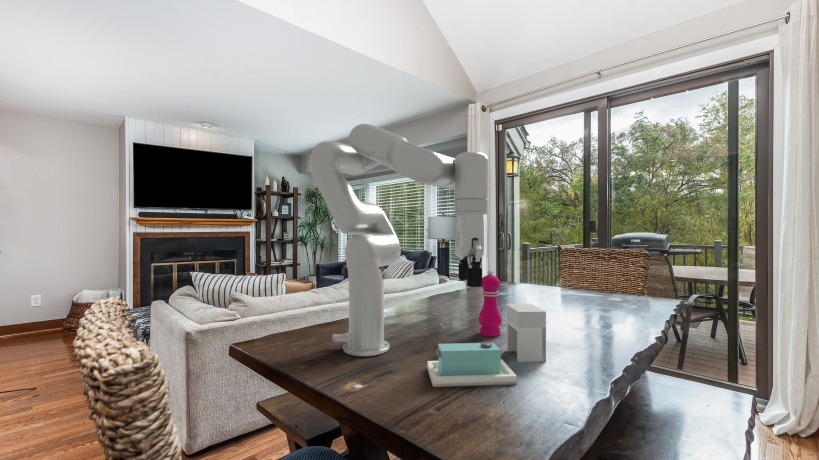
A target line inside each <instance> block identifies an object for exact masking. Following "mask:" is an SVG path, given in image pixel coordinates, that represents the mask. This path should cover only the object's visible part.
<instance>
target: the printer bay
mask: <svg viewBox="0 0 819 460" xmlns="http://www.w3.org/2000/svg"><path fill="white" fill-rule="evenodd" d="M505 329H506V330H505V331H506V341H505V342H506V352H516V362H518V363H539V362H540V363H541V362H542V363H545V362H547V311H546V310H544V309H542V308H540V307H538V306H536V305H534V304H532V303H520V304H518V303H516V304H515V303H514V304H513V303H510V304H509V303H507V304H506V328H505Z"/></svg>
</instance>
